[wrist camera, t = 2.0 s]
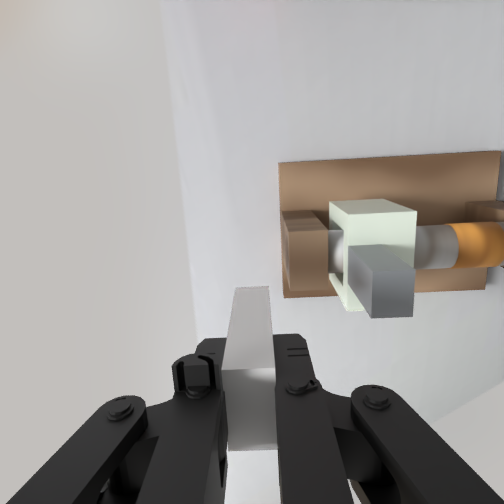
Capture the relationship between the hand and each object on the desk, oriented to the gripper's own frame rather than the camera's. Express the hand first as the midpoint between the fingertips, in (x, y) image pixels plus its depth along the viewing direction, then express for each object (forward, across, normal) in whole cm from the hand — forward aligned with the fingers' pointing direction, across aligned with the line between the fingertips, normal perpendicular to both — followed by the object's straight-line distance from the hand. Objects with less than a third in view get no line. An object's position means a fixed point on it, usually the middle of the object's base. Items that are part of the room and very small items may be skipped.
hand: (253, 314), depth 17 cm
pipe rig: (+17, +11, 0) cm, 21 cm away
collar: (+12, +8, 0) cm, 15 cm away
